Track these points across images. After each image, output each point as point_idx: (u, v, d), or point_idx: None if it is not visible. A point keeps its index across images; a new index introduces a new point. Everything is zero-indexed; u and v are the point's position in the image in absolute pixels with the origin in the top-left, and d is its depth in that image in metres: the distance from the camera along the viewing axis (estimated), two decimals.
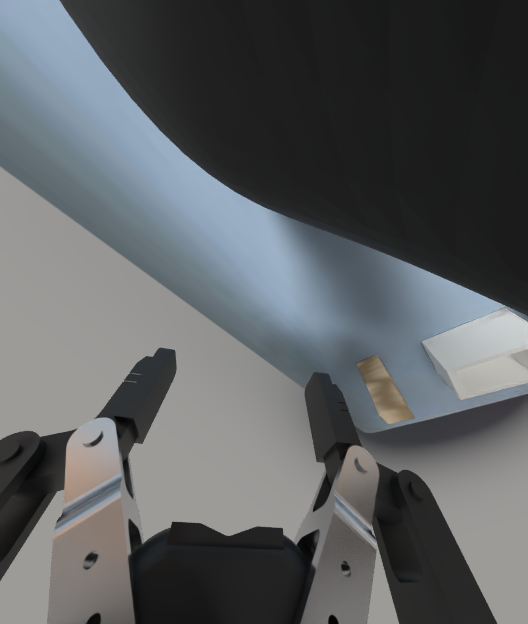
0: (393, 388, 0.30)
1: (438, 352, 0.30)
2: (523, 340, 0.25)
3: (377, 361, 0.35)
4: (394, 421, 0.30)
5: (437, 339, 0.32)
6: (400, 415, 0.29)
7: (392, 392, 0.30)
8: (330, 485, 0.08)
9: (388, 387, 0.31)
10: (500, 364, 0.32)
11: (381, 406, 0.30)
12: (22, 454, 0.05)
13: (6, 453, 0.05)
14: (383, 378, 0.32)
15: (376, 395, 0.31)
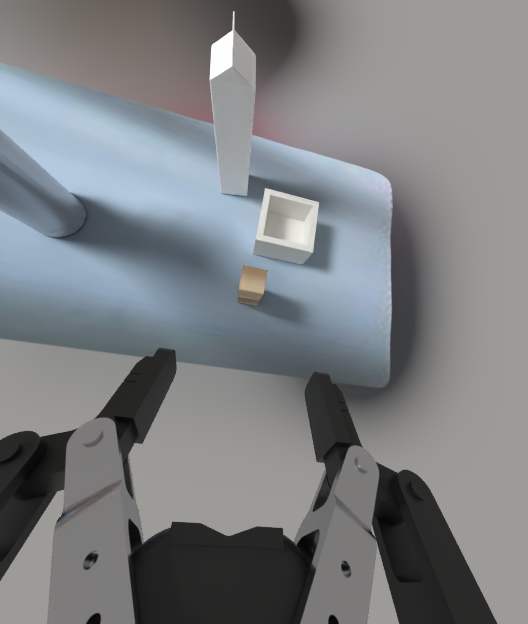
0: None
1: None
2: (263, 199, 0.38)
3: None
4: (261, 286, 0.30)
5: None
6: (253, 276, 0.30)
7: None
8: (330, 485, 0.08)
9: None
10: (305, 224, 0.41)
11: None
12: (22, 454, 0.05)
13: (6, 452, 0.05)
14: None
15: None
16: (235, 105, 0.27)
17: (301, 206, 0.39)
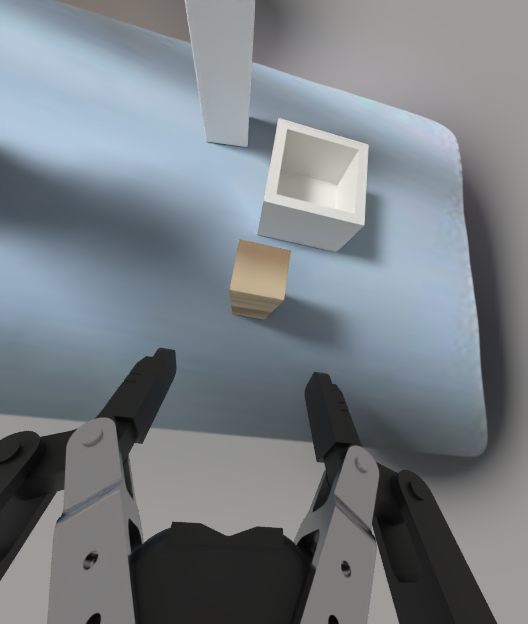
0: None
1: None
2: None
3: None
4: (278, 283, 0.14)
5: None
6: (261, 263, 0.14)
7: None
8: (330, 485, 0.08)
9: None
10: (343, 186, 0.25)
11: None
12: (22, 454, 0.05)
13: (6, 453, 0.05)
14: None
15: None
16: None
17: (338, 153, 0.23)
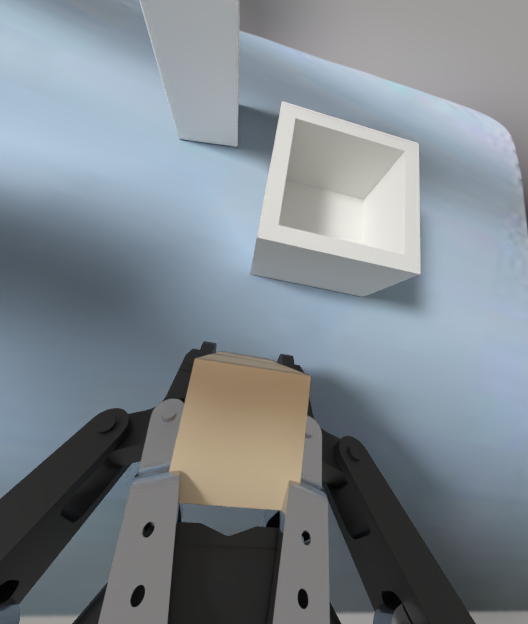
0: None
1: None
2: None
3: None
4: (284, 467, 0.06)
5: None
6: (244, 416, 0.06)
7: None
8: None
9: None
10: (375, 204, 0.17)
11: None
12: (117, 427, 0.06)
13: (106, 425, 0.06)
14: None
15: None
16: None
17: (371, 156, 0.15)
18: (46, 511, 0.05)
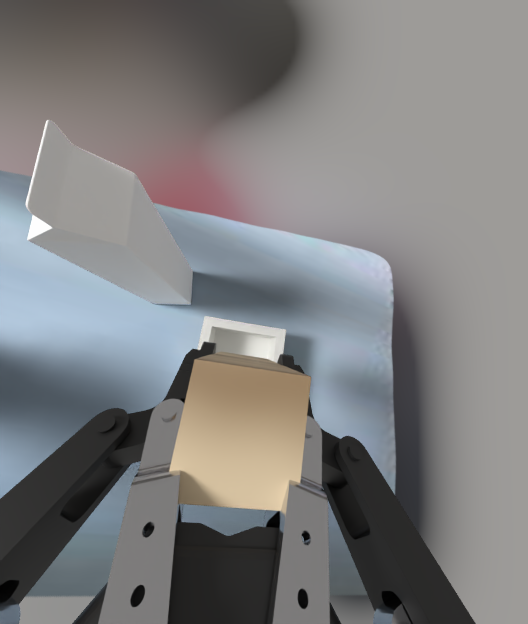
0: None
1: None
2: None
3: None
4: (283, 467, 0.06)
5: None
6: (244, 416, 0.06)
7: None
8: None
9: None
10: (270, 351, 0.29)
11: None
12: (118, 427, 0.06)
13: (106, 425, 0.06)
14: None
15: None
16: (104, 258, 0.15)
17: (260, 334, 0.27)
18: (46, 511, 0.05)
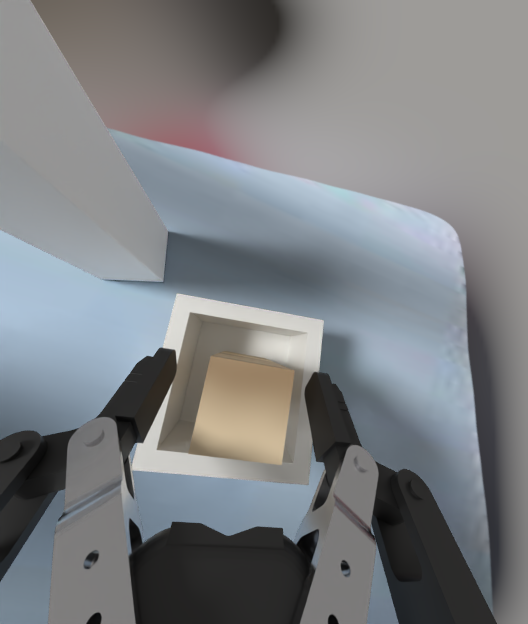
0: None
1: None
2: None
3: None
4: (273, 434, 0.08)
5: None
6: (245, 397, 0.08)
7: None
8: (330, 485, 0.08)
9: None
10: (292, 357, 0.17)
11: None
12: (24, 453, 0.05)
13: (7, 452, 0.05)
14: None
15: None
16: None
17: (278, 329, 0.15)
18: None
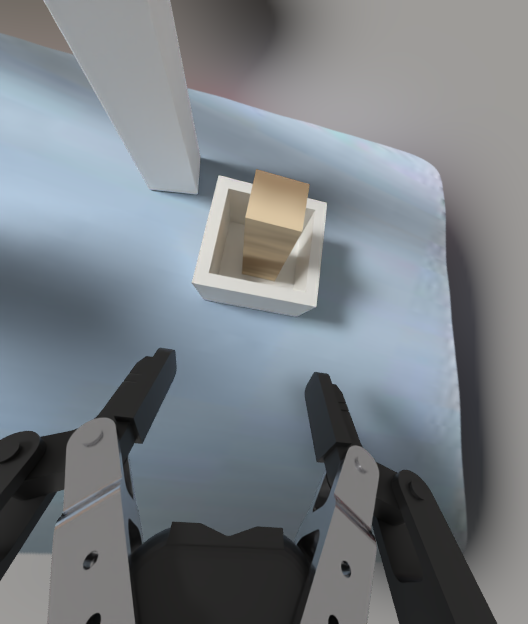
0: None
1: None
2: None
3: None
4: (296, 215, 0.13)
5: None
6: (278, 194, 0.13)
7: None
8: (330, 485, 0.08)
9: None
10: (302, 244, 0.22)
11: None
12: (22, 454, 0.05)
13: (6, 453, 0.05)
14: None
15: None
16: None
17: None
18: None
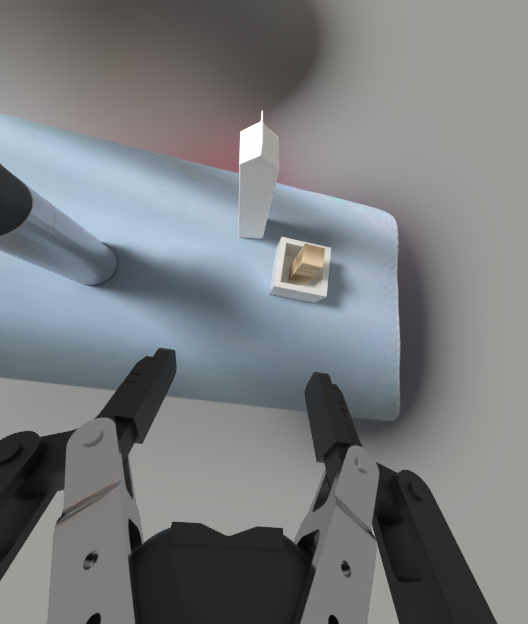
0: (299, 253, 0.38)
1: (271, 286, 0.41)
2: (279, 247, 0.41)
3: (291, 265, 0.44)
4: (320, 261, 0.35)
5: (271, 284, 0.44)
6: (313, 253, 0.35)
7: (299, 253, 0.38)
8: (330, 485, 0.08)
9: (298, 256, 0.39)
10: None
11: (300, 261, 0.36)
12: (22, 454, 0.05)
13: (6, 453, 0.05)
14: (295, 260, 0.40)
15: (297, 265, 0.38)
16: (260, 179, 0.30)
17: None
18: None
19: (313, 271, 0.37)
